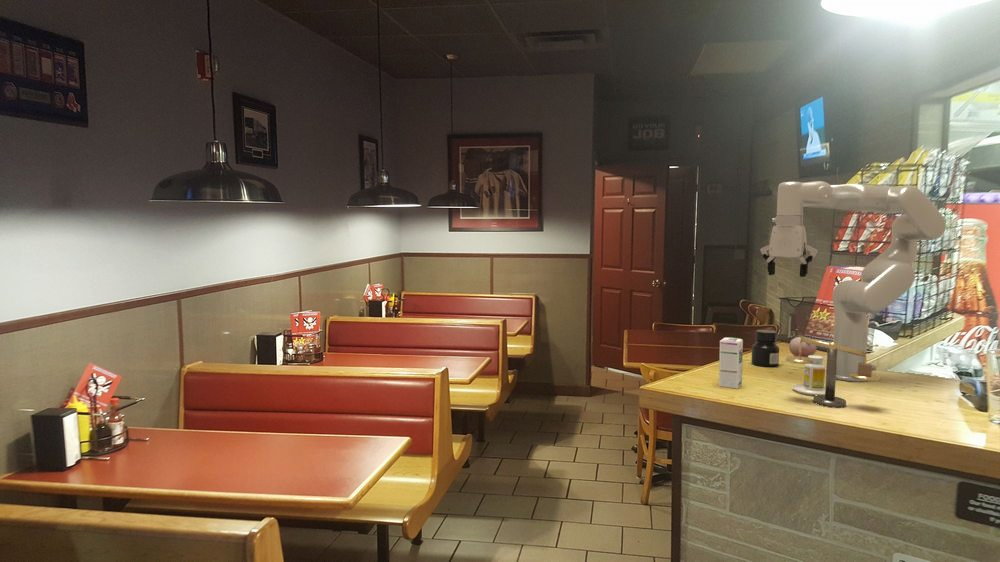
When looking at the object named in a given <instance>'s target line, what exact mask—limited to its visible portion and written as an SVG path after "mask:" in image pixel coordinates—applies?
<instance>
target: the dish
mask: <svg viewBox="0 0 1000 562" xmlns="http://www.w3.org/2000/svg"><path fill="white" fill-rule="evenodd" d="M825 386H826V385H824V389H823V390H821V391H816V390H808V389H806V388H804V383H798V384H797V383H796V384H793V385H792V386H791V387H792V390H794V391H796V392H797V393H799V394H803V395H806V394H807V396H812V395H817V396H818V395H825Z"/></svg>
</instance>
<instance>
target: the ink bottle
mask: <svg viewBox="0 0 1000 562" xmlns="http://www.w3.org/2000/svg"><path fill="white" fill-rule="evenodd" d="M777 333H778V332H777V331H776V330H771V329H756V330H755V342H754V343H753V344H752V346H751V364H752V365H754V366H758V367H766V368H767V367H768V368H774V367H778V366H779V365H780V364H779V363H780V361H779V360H780V347H779V346H778V345H777V337H778V334H777Z"/></svg>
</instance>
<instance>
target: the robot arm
mask: <svg viewBox="0 0 1000 562" xmlns="http://www.w3.org/2000/svg"><path fill="white" fill-rule="evenodd" d="M776 200H777V203H776V216H775V217H773V218H771V220H772V223H775V225H773V226H772V230H771V234H770V239H769V244H768V245H765V246H763V247H761V248H760V249H759V250H760V253H761V255H762V257H763V259H764V260H765V261H766V263H767V273H768V276H774V275H775V273H776V262H775V260H776V259H777V258H787V259H788V258H789V259H791V258H794V259H795V258H796V259H798V260H799V261H800V262H801V264H800V265H799V277H801V278H805V277H806V276H807V274H808V271H809V270H808V269H809V267H808V265H809V264H810V263H811V262H812V261H813V260H815V257H816V256H817V254H818V251H819V250H818V249H816V248H814V247H812V246H811V245H808V243H807V233H806V227H805V226H804V222H803V221H804V207H805V208H815V209H817V208H819V209H829V210H830V209H831V210H833V209H834V210H839V211H855V212H868V213H869V212H870V213H875V214H876V213H878V214H900V215H899V216H897V217H896V218H895V219H894V220H893V222H892V224H891V241H890V244H889V246H888V247H886V249H885V250H884V251H883V252H881V253H880V254H879V255H877V257H875V258H874V259H872V260H871V261H870V262H869V263H868V264H866V266H865V267H864V268H863V269H862V270H861V273H860V279H861V281H860V280H854V279H853V280H852V279H848V280H842V281H840V282H839V283H838V284H836V285H835V287H834V288H833V291H832V305H833V313H834V318H833V319H834V322H833V338H832V339H833V340H832V342H835V343H837V345H839V346H844V347H848V348H852V349H856V350H860V351H865V352H866V353H867V350H868V349H867V347H868V332H869V322H868V321H869V320H868V316H867V314H868V315H869V314H871V315H872V314H877V313H880V312H882V311H884V310H885V309H887V308H888V307H889V306H891V305H892V304H893V303H894V302H896V301H897V300H898V299H899V298H900V297H902V296H903V295H904V294H905V293H906V292H908V291H909V290H910V288H911V287H912V286H913V284H914V282H915V280H916V279H915V278H916V272H915V269H914V268H913V267H912V265H913V263H914V262H915V261H916V259H917V255H918V241H934V240H937V239H939V238H941V237H942V236H943V235H944V233H945V232H946V229H947V223H946V220H945V218H944V216H943V215H942V214H941V212H940V210H939V209H938V208H937V207H936V206H935V205H934V204H933V202H932V201H931V200H930V199H929V198H928V197H927V195H926V194H925V193H924V192H923V191H921V189H919V188H918V187H916V186H914V185H899V186H897V185H896V186H888V185H875V184H865V183H845V184H830V183H828V182H826V181H822V180H818V181H817V180H816V181H815V180H814V181H808V182H806V181H805V182H803V181H802V182H800V181H784V182H783V181H782V182H781V183H779V184H778V187H777V199H776ZM767 251H768V252H767ZM807 251H808V252H809V253H810V254H809V256H808V257H807V253H808V252H807ZM865 357H867V355H866V356H865ZM858 363H864V357H863V356H859V355H855V354H851V353H847V352H842V351H838V350H837V366H836V380H840V381H846V382H859V383H860V382H863V383H864V382H868V381H867V380H859V379H855V378H852V377H850V376H849V374H850V373H852V372H858ZM871 365H872V372H873V371H875V372H876V370H877V366H876V365H875V364H871Z"/></svg>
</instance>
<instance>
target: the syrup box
mask: <svg viewBox="0 0 1000 562" xmlns="http://www.w3.org/2000/svg"><path fill="white" fill-rule="evenodd" d="M743 345H744V340H743V339H742V338H738V337H723V338H722V339H721V340H719V356H718V357H719V363H718V364H719V365H718V366H719V368H718V386H719V387H721V388H729V389H737V390H738V389H739V388H740V387H741V386H742V383H743V357H744V355H743V353H744V352H743V350H744V349H743V347H744V346H743Z"/></svg>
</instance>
